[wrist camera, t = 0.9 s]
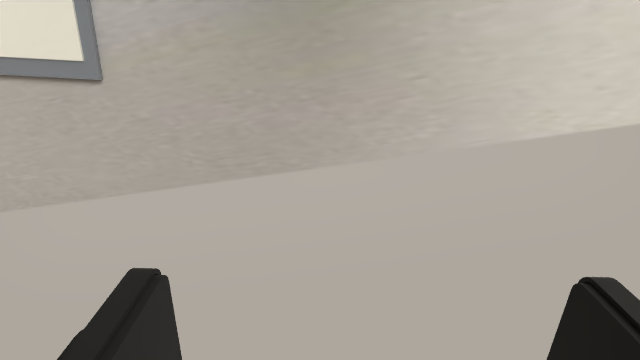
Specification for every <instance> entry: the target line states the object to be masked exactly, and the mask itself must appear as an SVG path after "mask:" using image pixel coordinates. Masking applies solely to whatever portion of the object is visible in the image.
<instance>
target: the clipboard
mask: <svg viewBox="0 0 640 360" xmlns="http://www.w3.org/2000/svg"><path fill="white" fill-rule="evenodd" d="M0 75H14V76H33V77H52V78H71V79H89V80H102V79H103V78H102V72H101V66H100V60H99V54H98V48H97V42H96V35H95V29H94V23H93V17H92V11H91V5H90V0H0Z"/></svg>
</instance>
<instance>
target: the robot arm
mask: <svg viewBox="0 0 640 360" xmlns="http://www.w3.org/2000/svg"><path fill="white" fill-rule="evenodd" d="M57 360H182V356H181V350H180V344H179V338H178V333H177V327H176V321H175V315H174V309H173V303H172V297H171V291H170V285H169V280H168V277H167V276H166V275H161V272H160V270H159V269H152V268H132V269H130V270H129V271H128V272H127V273H126V275H125V276H124V277H123V279H122V280H121V281H120V283H119V284H118V285H117V287H116V288H115V289H114V290H113V292H112V293H111V294H110V296H109V297H108V298H107V300H106V301H105V302H104V304H103V305H102V306H101V307H100V309H99V310H98V312H97V313H96V314H95V315H94V317H93V318H92V319H91V321H90V322H89V323H88V325H87V326H86V327H85V328H84V329H83V330H82V331H80V332H79V333H78V334H77V335H76V336H75V337H74V338H73V340H72V341H71V342H70V344H69V345H68V346H67V348H66V349H65V350H64V351H63V353H62V354H61V355H60V357H59V358H58V359H57ZM547 360H640V300H638V299H637V298H636V297H635V296H634V295H633V294H632V293H631V292H629V291H628V290H627V289H626V288H625V287H624V286H623V285H622V284H621V283H619V282H618V281H617V280H615V279H613V278H609V277H604V278H603V277H584V278H582V279H581V280H579V282H578V283H577V284H575V285H573V287H572V289H571V292H570V295H569V297H568V300H567V303H566V306H565V309H564V312H563V315H562V317H561V320H560V323H559V326H558V329H557V332H556V334H555V338H554V340H553V343H552V346H551V349H550V352H549V354H548V357H547Z"/></svg>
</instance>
